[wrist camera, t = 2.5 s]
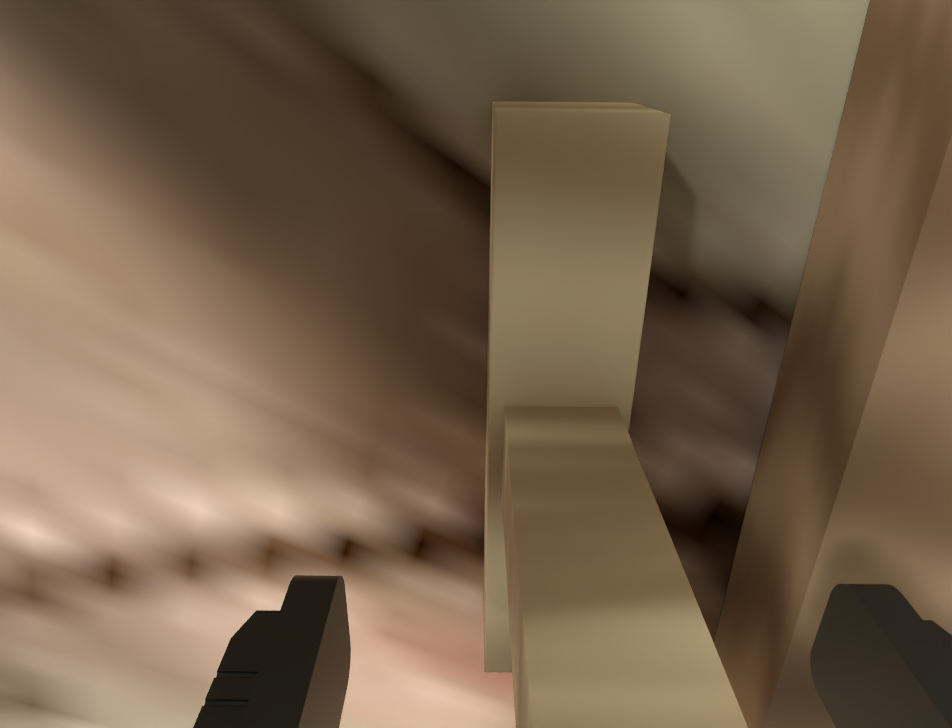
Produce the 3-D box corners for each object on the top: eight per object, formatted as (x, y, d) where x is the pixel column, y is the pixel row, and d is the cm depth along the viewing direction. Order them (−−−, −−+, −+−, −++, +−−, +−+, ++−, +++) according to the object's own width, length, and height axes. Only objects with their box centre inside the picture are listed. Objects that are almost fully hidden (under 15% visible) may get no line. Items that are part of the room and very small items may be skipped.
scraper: (491, 101, 14) (704, 656, 1) (632, 102, 14) (2425, 663, 1) (483, 587, 20) (499, 1520, 7) (580, 588, 20) (763, 1518, 7)
